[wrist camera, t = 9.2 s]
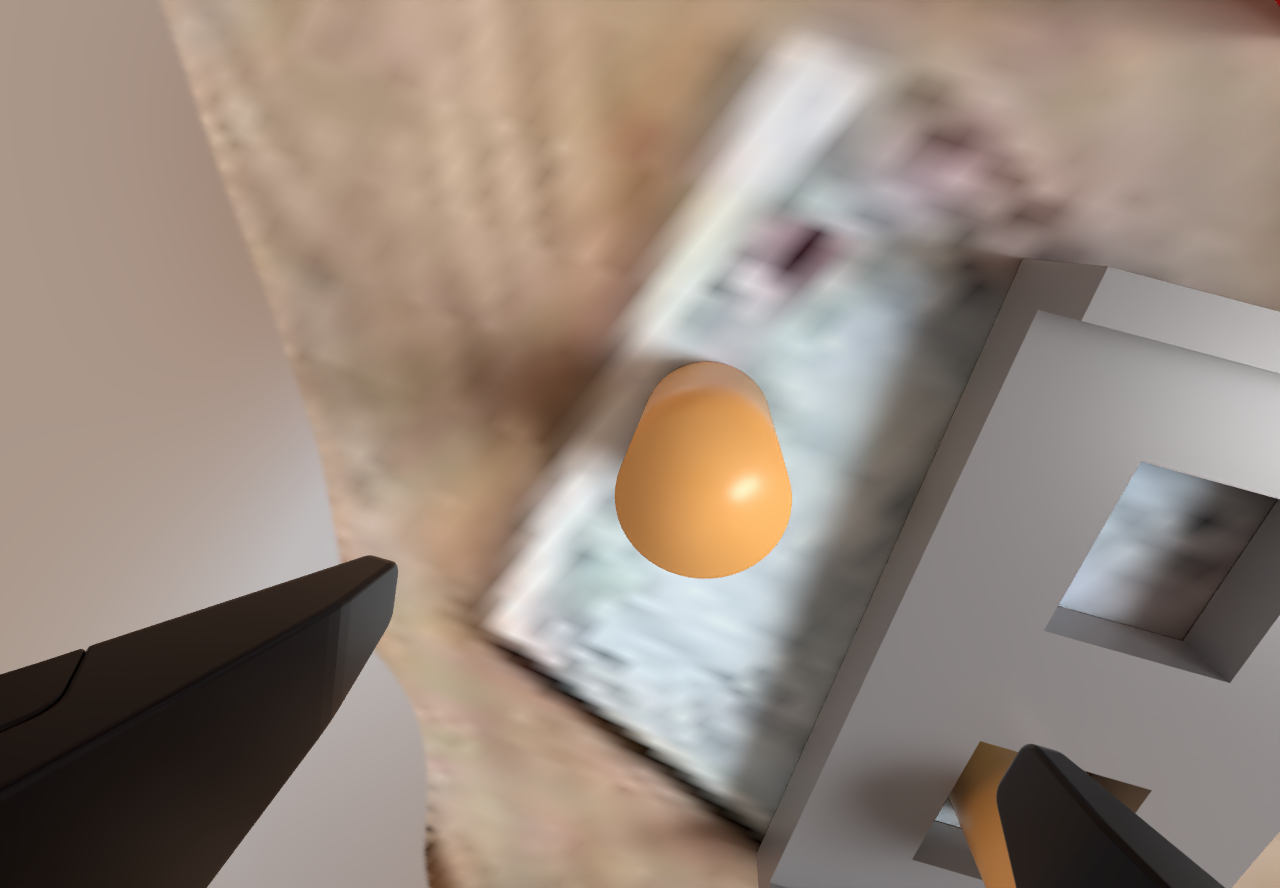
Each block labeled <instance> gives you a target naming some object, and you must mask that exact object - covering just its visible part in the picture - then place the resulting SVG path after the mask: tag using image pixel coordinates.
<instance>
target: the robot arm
mask: <svg viewBox="0 0 1280 888" xmlns="http://www.w3.org/2000/svg"><path fill="white" fill-rule="evenodd" d="M397 577H398V567H397V565H396V563H395V562H393V561H390V560H386V559H383V558H379V557H376V556H371V555H368V556H364V557H361V558H358V559H355V560H352V561H349V562H345V563H342V564H339V565H336V566H334V567H331V568H327V569H324V570H321V571H318V572H315V573H312V574H309V575H306V576H303V577H300V578H297V579H294V580H290V581H288V582H285V583H281V584H278V585H275V586H272V587H269V588H266V589H263V590H260V591H257V592H254V593H251V594H248V595H245V596H242V597H239V598H236V599H232V600H229V601H226V602H223V603H220V604H217V605H214V606H211V607H208V608H205V609H202V610H199V611H196V612H193V613H190V614H187V615H184V616H181V617H177V618H174V619H171V620H168V621H165V622H162V623H159V624H156V625H153V626H150V627H147V628H144V629H141V630H138V631H135V632H131V633H128V634H125V635H122V636H119V637H116V638H113V639H110V640H107V641H104V642H101V643H98V644H95V645H92V646H90V647H89V648H88V649H87V650H86V651H85V650H83V649H79V650H76V651H73V652H70V653H67V654H64V655H61V656H58V657H55V658H52V659H49V660H46V661H42V662H39V663H36V664H33V665H30V666H26V667H24V668H20V669H17V670H13V671H10V672H7V673H4V674H1V675H0V888H207V887H208V885H209V884H210V883H211V881H212V880H213V878H214V877H215V876H216V874H217V873H218V872H219V871H220V869H221V868H222V866H223V865H224V864H225V863H226V861H227V860H228V859H229V857H230V856H231V855H232V853H233V852H234V851H235V849H236V848H237V846H238V845H239V844H240V843H241V841H242V840H243V839H244V837H245V836H246V835H247V833H248V832H249V830H250V829H251V828H252V826H253V825H254V824H255V823H256V821H257V820H258V819H259V817H260V816H261V815H262V813H263V812H264V811H265V809H266V808H267V807H268V805H269V804H270V803H271V801H272V800H273V799H274V797H275V796H276V795H277V793H278V792H279V791H280V789H281V788H282V787H283V785H284V784H285V782H286V781H287V780H288V779H289V777H290V776H291V775H292V773H293V772H294V771H295V769H296V768H297V767H298V765H299V764H300V763H301V761H302V760H303V759H304V757H305V756H306V754H307V753H308V752H309V751H310V749H311V748H312V747H313V745H314V744H315V743H316V741H317V740H318V739H319V737H320V736H321V734H322V733H323V732H324V730H325V729H326V727H327V726H328V724H329V723H330V722H331V720H332V718H333V717H334V715H335V714H336V712H337V711H338V709H339V707H340V706H341V704H342V702H343V701H344V699H345V697H346V695H347V694H348V692H349V691H350V689H351V687H352V685H353V684H354V682H355V681H356V679H357V677H358V676H359V674H360V672H361V671H362V669H363V667H364V665H365V664H366V662H367V661H368V659H369V657H370V655H371V654H372V652H373V650H374V649H375V647H376V645H377V644H378V642H379V640H380V639H381V637H382V635H383V634H384V632H385V630H386V629H387V627H388V625H389V622H390V620H391V617H392V614H393V608H394V601H395V593H396V585H397ZM996 802H997V808H998V812H999V816H1000V821H1001V825H1002V829H1003V834H1004V838H1005V842H1006V847H1007V851H1008V855H1009V860H1010V864H1011V868H1012V873H1013V877H1014V881H1015V886H1016V888H1225V887H1224V886H1223V885H1222V884H1220V883H1219V882H1218V881H1217V880H1216V879H1214V878H1213V877H1212V876H1211V875H1210V874H1208V873H1207V872H1206V871H1205V870H1203V869H1202V868H1201V867H1200V866H1199V865H1197V864H1196V863H1195V862H1194V861H1193V860H1191V859H1190V858H1189V857H1188V856H1186V855H1185V854H1184V853H1183V852H1182V851H1180V850H1179V849H1178V848H1177V847H1176V846H1174V845H1173V844H1172V843H1171V842H1169V841H1168V840H1167V839H1166V838H1165V837H1163V836H1162V835H1161V834H1160V833H1159V832H1157V831H1156V830H1155V829H1154V828H1152V827H1151V826H1150V825H1149V824H1148V823H1146V822H1145V821H1144V820H1143V819H1142V818H1140V817H1139V816H1138V815H1137V814H1135V813H1134V812H1133V811H1132V810H1131V809H1129V808H1128V807H1127V806H1126V805H1125V804H1123V803H1122V802H1121V801H1120V800H1119V799H1117V798H1116V797H1115V796H1114V795H1112V794H1111V793H1110V792H1109V791H1108V790H1106V789H1105V788H1104V787H1103V786H1102V785H1100V784H1099V783H1098V782H1097V781H1095V780H1094V779H1093V778H1092V777H1091V776H1089V775H1088V774H1087V773H1086V772H1085V771H1083V770H1082V769H1081V768H1080V767H1078V766H1077V765H1076V764H1075V763H1074V762H1072V761H1071V760H1070V759H1069V758H1068V757H1066V756H1065V755H1064V754H1062V753H1061V752H1059V751H1057V750H1053V749H1050V748H1046V747H1043V746H1039V745H1036V744H1026V745H1025V746H1023V747H1022V748H1021V749H1020V750H1019V752H1018V753H1017V755H1016V757H1015V758H1014V760H1013V761H1012V763H1011V765H1010V766H1009V768H1008V770H1007V771H1006V773H1005V774H1004V776H1003V778H1002V779H1001V781H1000V783H999V785H998V788H997V794H996Z"/></svg>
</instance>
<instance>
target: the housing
mask: <svg viewBox="0 0 1280 888" xmlns="http://www.w3.org/2000/svg"><path fill="white" fill-rule="evenodd" d="M1140 462H1144V463H1148V464H1152V465H1155V466H1159V467H1163V468H1167V469H1170V470H1174V471H1178V472H1181V473H1185V474H1189V475H1192V476H1196V477H1200V478H1203V479H1207V480H1211V481H1214V482H1218V483H1222V484H1225V485H1229V486H1233V487H1237V488H1240V489H1244V490H1248V491H1251V492H1255V493H1259V494H1262V495H1266V496H1270V497H1273V498H1277V499H1278V501H1277V502H1276V503H1275V505H1274V506H1273V508H1272V509H1271V511H1270V512H1269V514H1268V515H1267V517H1266V518H1265V520H1264V521H1263V523H1262V524H1261V526H1260V527H1259V529H1258V530H1257V532H1256V533H1255V535H1254V536H1253V538H1252V539H1251V541H1250V542H1249V544H1248V545H1247V546H1246V548H1245V549H1244V551H1243V552H1242V554H1241V555H1240V557H1239V558H1238V560H1237V561H1236V563H1235V564H1234V566H1233V567H1232V569H1231V570H1230V572H1229V573H1228V575H1227V576H1226V578H1225V579H1224V581H1223V582H1222V584H1221V585H1220V586H1219V588H1218V589H1217V591H1216V592H1215V594H1214V595H1213V597H1212V598H1211V600H1210V601H1209V603H1208V604H1207V606H1206V607H1205V609H1204V610H1203V612H1202V613H1201V615H1200V616H1199V618H1198V619H1197V621H1196V622H1195V624H1194V625H1193V627H1192V628H1191V629H1190V631H1189V632H1188V634H1187V635H1186V637H1185V638H1184V640H1183V641H1181V640H1177V639H1174V638H1170V637H1166V636H1163V635H1159V634H1156V633H1152V632H1148V631H1145V630H1141V629H1138V628H1134V627H1131V626H1127V625H1123V624H1120V623H1116V622H1113V621H1109V620H1105V619H1102V618H1098V617H1095V616H1091V615H1088V614H1084V613H1080V612H1077V611H1073V610H1070V609H1066V608H1062V607H1059V606H1058V605H1059V603H1060V601H1061V600H1062V598H1063V596H1064V594H1065V593H1066V591H1067V589H1068V587H1069V586H1070V584H1071V582H1072V580H1073V579H1074V577H1075V575H1076V574H1077V572H1078V570H1079V568H1080V567H1081V565H1082V563H1083V561H1084V560H1085V558H1086V556H1087V554H1088V553H1089V551H1090V549H1091V547H1092V546H1093V544H1094V542H1095V540H1096V539H1097V537H1098V535H1099V534H1100V532H1101V530H1102V528H1103V527H1104V525H1105V523H1106V521H1107V520H1108V518H1109V516H1110V514H1111V513H1112V511H1113V509H1114V507H1115V506H1116V504H1117V502H1118V500H1119V499H1120V497H1121V495H1122V494H1123V492H1124V490H1125V488H1126V487H1127V485H1128V483H1129V481H1130V480H1131V478H1132V476H1133V474H1134V473H1135V471H1136V469H1137V467H1138V466H1139V464H1140ZM980 741H981V742H985V743H988V744H992V745H995V746H999V747H1002V748H1006V749H1009V750H1013V751H1016V752H1019V750H1020V749H1021V748H1022V747H1023V746H1025V745H1026V744H1036V745H1039V746H1043V747H1046V748H1050V749H1053V750H1057V751H1059V752H1061V753H1062V754H1064V755H1065V756H1066V757H1068V758H1069V759H1070V760H1071V761H1072V762H1074V763H1075V764H1076V765H1077V766H1078V767H1080V768H1081V769H1082V770H1083V771H1086V772H1090V773H1093V775H1092V776H1091V777H1092V778H1093V779H1094V780H1095V781H1097V782H1098V783H1099V784H1100V785H1102V786H1103V787H1104V788H1105V789H1106V790H1108V791H1109V792H1110V793H1111V794H1112V795H1114V796H1115V797H1116V798H1117V799H1119V800H1120V801H1121V802H1122V803H1123V804H1125V805H1126V806H1127V807H1128V808H1129V809H1131V810H1132V811H1133V812H1134V813H1135V814H1137V815H1138V816H1139V817H1140V818H1142V819H1143V820H1144V821H1145V822H1146V823H1148V824H1149V825H1150V826H1151V827H1152V828H1154V829H1155V830H1156V831H1157V832H1159V833H1160V834H1161V835H1162V836H1163V837H1165V838H1166V839H1167V840H1168V841H1169V842H1171V843H1172V844H1173V845H1174V846H1176V847H1177V848H1178V849H1179V850H1180V851H1182V852H1183V853H1184V854H1185V855H1186V856H1188V857H1189V858H1190V859H1191V860H1193V861H1194V862H1195V863H1196V864H1197V865H1199V866H1200V867H1201V868H1202V869H1203V870H1205V871H1206V872H1207V873H1208V874H1210V875H1211V876H1212V877H1213V878H1214V879H1216V880H1217V881H1218V882H1219V883H1220V884H1222V885H1223V886H1224V887H1225V888H1232V887H1233V886H1234V884H1235V883H1236V882H1237V881H1238V880H1239V878H1240V877H1241V876H1242V875H1243V874H1244V873H1245V871H1246V870H1247V869H1248V868H1249V867H1250V866H1251V864H1252V863H1253V862H1254V861H1255V860H1256V859H1257V857H1258V856H1259V855H1260V854H1261V853H1262V852H1263V850H1264V849H1265V848H1266V847H1267V846H1268V844H1269V843H1270V842H1271V841H1272V840H1273V839H1274V837H1275V836H1276V835H1277V834H1278V833H1279V832H1280V312H1279V311H1276V310H1272V309H1268V308H1264V307H1260V306H1257V305H1253V304H1249V303H1245V302H1241V301H1238V300H1234V299H1230V298H1226V297H1222V296H1219V295H1215V294H1211V293H1207V292H1203V291H1200V290H1196V289H1192V288H1188V287H1184V286H1181V285H1177V284H1173V283H1169V282H1165V281H1162V280H1158V279H1154V278H1150V277H1146V276H1143V275H1139V274H1135V273H1131V272H1127V271H1124V270H1120V269H1116V268H1112V267H1108V266H1098V265H1088V264H1078V263H1067V262H1057V261H1047V260H1037V259H1027V258H1023V259H1022V262H1021V264H1020V266H1019V268H1018V271H1017V273H1016V275H1015V277H1014V280H1013V282H1012V284H1011V286H1010V288H1009V291H1008V293H1007V295H1006V297H1005V300H1004V302H1003V304H1002V306H1001V309H1000V311H999V313H998V315H997V318H996V320H995V322H994V324H993V326H992V329H991V331H990V333H989V335H988V338H987V340H986V342H985V344H984V347H983V349H982V351H981V353H980V356H979V358H978V360H977V362H976V364H975V367H974V369H973V371H972V373H971V376H970V378H969V380H968V382H967V385H966V387H965V389H964V391H963V394H962V396H961V398H960V400H959V402H958V405H957V407H956V409H955V411H954V414H953V416H952V418H951V420H950V423H949V425H948V427H947V429H946V432H945V434H944V436H943V438H942V440H941V443H940V445H939V447H938V449H937V452H936V454H935V456H934V458H933V461H932V463H931V465H930V467H929V470H928V472H927V474H926V476H925V478H924V481H923V483H922V485H921V487H920V490H919V492H918V494H917V496H916V499H915V501H914V503H913V505H912V508H911V510H910V512H909V514H908V516H907V519H906V521H905V523H904V525H903V528H902V530H901V532H900V534H899V537H898V539H897V541H896V543H895V546H894V548H893V550H892V552H891V554H890V557H889V559H888V561H887V563H886V566H885V568H884V570H883V572H882V575H881V577H880V579H879V581H878V584H877V586H876V588H875V590H874V592H873V595H872V597H871V599H870V601H869V604H868V606H867V608H866V610H865V613H864V615H863V617H862V619H861V622H860V624H859V626H858V628H857V630H856V633H855V635H854V637H853V639H852V642H851V644H850V646H849V648H848V651H847V653H846V655H845V657H844V660H843V662H842V664H841V666H840V668H839V671H838V673H837V675H836V677H835V680H834V682H833V684H832V686H831V689H830V691H829V693H828V695H827V698H826V700H825V702H824V704H823V706H822V709H821V711H820V713H819V715H818V718H817V720H816V722H815V724H814V727H813V729H812V731H811V733H810V736H809V738H808V740H807V742H806V744H805V747H804V749H803V751H802V753H801V756H800V758H799V760H798V762H797V765H796V767H795V769H794V771H793V774H792V776H791V778H790V780H789V782H788V785H787V787H786V789H785V791H784V794H783V796H782V798H781V800H780V803H779V805H778V807H777V809H776V812H775V814H774V816H773V818H772V820H771V823H770V825H769V827H768V829H767V832H766V834H765V836H764V838H763V841H762V843H761V845H760V847H759V850H758V852H757V867H758V883H759V888H986V887H985V885H984V882H983V880H982V877H981V875H980V872H979V870H978V867H977V865H976V863H975V860H974V858H973V855H972V853H971V850H970V848H969V845H968V843H967V840H966V838H965V836H964V833H963V831H962V829H961V828H957V827H954V826H950V825H947V824H943V823H940V822H936V821H934V820H935V819H936V817H937V815H938V814H939V812H940V810H941V808H942V807H943V805H944V803H945V801H946V800H947V798H948V796H949V794H950V793H951V791H952V789H953V787H954V786H955V784H956V782H957V780H958V779H959V777H960V775H961V774H962V772H963V770H964V768H965V767H966V765H967V763H968V761H969V760H970V758H971V756H972V754H973V753H974V751H975V749H976V747H977V746H978V744H979V742H980Z"/></svg>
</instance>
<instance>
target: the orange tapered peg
mask: <svg viewBox="0 0 1280 888" xmlns="http://www.w3.org/2000/svg"><path fill="white" fill-rule="evenodd" d="M1017 753H1018V752H1016V751H1013V750H1009V749H1006V748H1002V747H999V746H995V745H992V744H988V743H985V742H981V741H980V742H979V744H978V746H977V747H976V749H975V751H974V753H973V754H972V756H971V758H970V760H969V761H968V763H967V765H966V767H965V768H964V770H963V772H962V774H961V775H960V777H959V779H958V780H957V782H956V784H955V786H954V787H953V789H952V791H951V793H950V794H949V799H950V801H951V804H952V806H953V809H954V811H955V813H956V816H957V818H958V821H959V823H960V826H961V828H962V831H963V833H964V836H965V838H966V840H967V843H968V845H969V848H970V850H971V853H972V855H973V858H974V860H975V863H976V865H977V867H978V870H979V872H980V875H981V877H982V880H983V882H984V885H985V887H986V888H1016V886H1015V881H1014V877H1013V873H1012V868H1011V864H1010V860H1009V855H1008V851H1007V847H1006V842H1005V838H1004V834H1003V829H1002V825H1001V821H1000V816H999V812H998V808H997V802H996V794H997V788H998V785H999V783H1000V781H1001V779H1002V778H1003V776H1004V774H1005V773H1006V771H1007V770H1008V768H1009V766H1010V765H1011V763H1012V761H1013V760H1014V758H1015V757H1016V755H1017Z"/></svg>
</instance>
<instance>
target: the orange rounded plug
mask: <svg viewBox="0 0 1280 888" xmlns="http://www.w3.org/2000/svg"><path fill="white" fill-rule="evenodd" d="M615 505H616V511H617V515H618V519H619V522H620V524H621V527H622V529H623V531H624V533H625V534H626V536H627V538H628V539H629V541H630V542H631V543H632V545H633V546H634V547H635V548H636V549H637V550H638V551H639V552H640V553H641V554H642V555H643V556H644V557H645V558H647V559H648V560H649V561H650V562H652V563H654V564H655V565H657V566H658V567H660V568H662V569H665V570H667V571H669V572H672V573H675V574H677V575H681V576H686V577H691V578H719V577H725V576H729V575H733V574H736V573H738V572H741V571H744V570H746V569H747V568H749V567H751V566H753V565H755V564H756V563H758V562H759V561H760V560H762V559H763V558H764V557H765V556H766V555H767V554H769V553H770V552H771V550H772V549H773V548H774V547H775V546H776V545H777V543H778V542H779V540H780V539H781V537H782V535H783V533H784V531H785V529H786V527H787V524H788V521H789V518H790V513H791V506H792V492H791V486H790V481H789V477H788V474H787V470H786V467H785V463H784V460H783V456H782V452H781V449H780V445H779V442H778V438H777V435H776V431H775V428H774V424H773V421H772V417H771V413H770V410H769V407H768V403H767V400H766V398H765V396H764V394H763V392H762V391H761V389H760V388H759V386H758V385H757V384H756V383H755V382H754V381H753V380H752V379H751V378H750V377H749V376H748V375H746V374H745V373H743V372H742V371H740V370H738V369H736V368H734V367H732V366H729V365H727V364H723V363H718V362H697V363H691V364H688V365H685V366H682V367H680V368H678V369H676V370H674V371H673V372H671V373H669V374H668V375H667V376H666V377H664V378H663V379H662V380H661V381H660V382H659V384H658V385H657V386H656V387H655V389H654V390H653V392H652V393H651V395H650V397H649V399H648V402H647V404H646V407H645V409H644V411H643V414H642V416H641V419H640V421H639V424H638V426H637V429H636V431H635V433H634V436H633V438H632V441H631V443H630V446H629V448H628V451H627V453H626V456H625V458H624V460H623V463H622V465H621V468H620V471H619V474H618V477H617V481H616V487H615Z"/></svg>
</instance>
